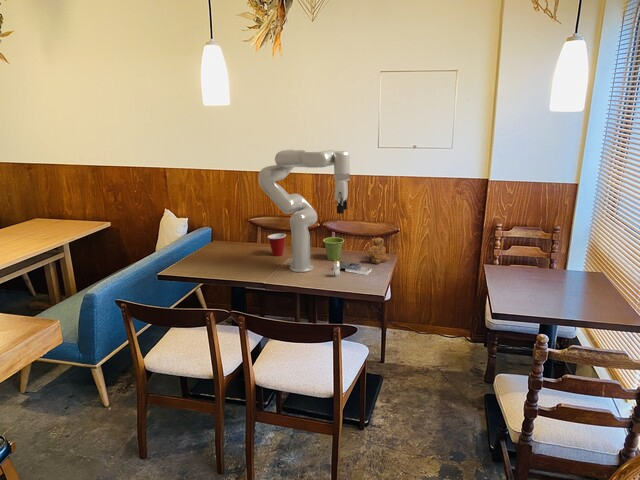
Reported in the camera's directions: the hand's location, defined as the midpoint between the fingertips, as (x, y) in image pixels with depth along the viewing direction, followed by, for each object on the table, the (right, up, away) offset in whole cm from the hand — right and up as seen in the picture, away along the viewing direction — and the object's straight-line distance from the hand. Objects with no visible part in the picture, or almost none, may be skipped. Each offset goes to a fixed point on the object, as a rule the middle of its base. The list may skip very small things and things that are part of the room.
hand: (342, 211), depth 240 cm
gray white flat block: (+7, -30, +17) cm, 35 cm away
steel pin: (-2, -33, +9) cm, 34 cm away
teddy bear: (+21, -26, +32) cm, 46 cm away
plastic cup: (-36, -23, +44) cm, 62 cm away
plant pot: (-3, -25, +36) cm, 44 cm away
